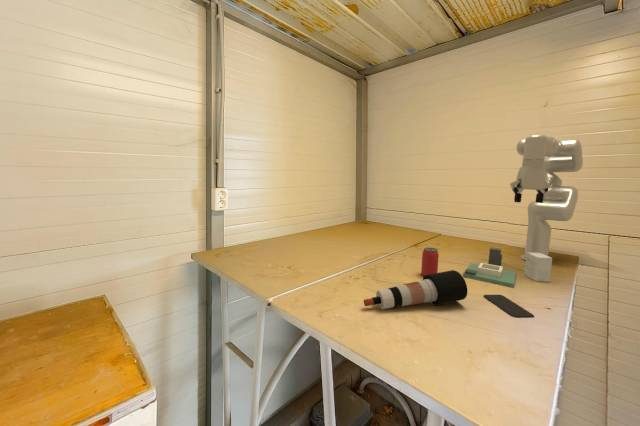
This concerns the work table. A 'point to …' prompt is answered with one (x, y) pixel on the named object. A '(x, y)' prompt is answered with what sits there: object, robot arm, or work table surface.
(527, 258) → the small box
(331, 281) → the work table surface
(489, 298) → the phone
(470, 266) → the circuit board
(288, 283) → the work table surface
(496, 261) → the plug
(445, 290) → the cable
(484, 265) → the header socket
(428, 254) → the beer can
